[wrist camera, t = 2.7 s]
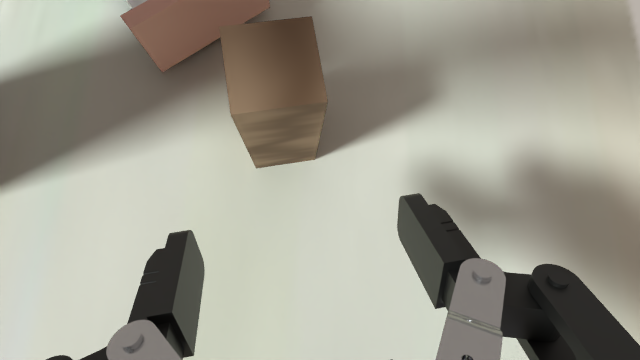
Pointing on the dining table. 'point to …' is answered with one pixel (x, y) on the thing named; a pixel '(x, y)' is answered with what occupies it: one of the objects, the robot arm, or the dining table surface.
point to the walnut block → (275, 88)
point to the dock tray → (184, 24)
